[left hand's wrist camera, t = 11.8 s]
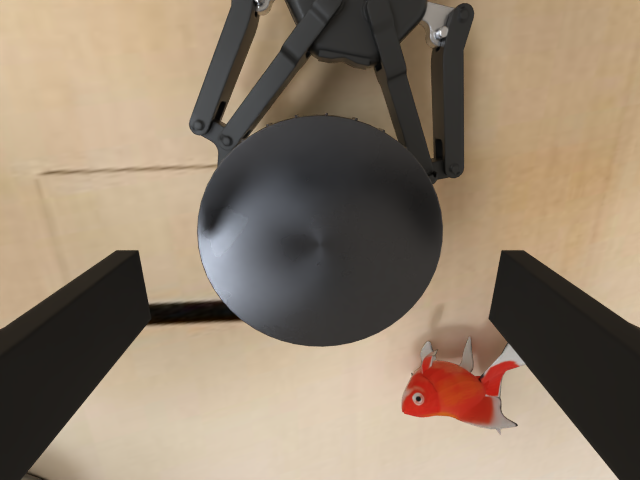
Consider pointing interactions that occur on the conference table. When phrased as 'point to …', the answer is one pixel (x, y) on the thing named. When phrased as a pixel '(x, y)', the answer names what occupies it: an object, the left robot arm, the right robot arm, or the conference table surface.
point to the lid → (320, 230)
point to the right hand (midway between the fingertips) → (310, 253)
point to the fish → (459, 389)
